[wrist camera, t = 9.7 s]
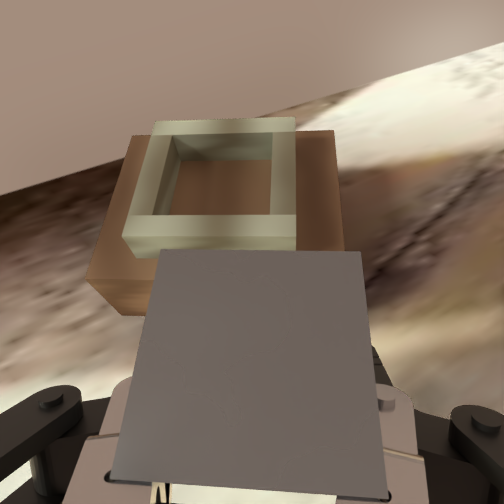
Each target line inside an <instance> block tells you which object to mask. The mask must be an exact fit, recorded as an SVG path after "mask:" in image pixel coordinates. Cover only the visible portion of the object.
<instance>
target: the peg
mask: <svg viewBox="0 0 504 504" xmlns="http://www.w3.org/2000/svg"><path fill="white" fill-rule="evenodd" d="M110 479H117V480H131V481H145V482H159V483H173V484H187V485H200V486H214V487H228V488H242V489H256V490H270V491H284V492H297V493H311V494H325V495H339V496H353V497H367V498H381V499H389V496H388V487H387V479H386V470H385V461H384V452H383V443H382V435H381V426H380V417H379V408H378V399H377V390H376V382H375V373H374V364H373V355H372V346H371V338H370V329H369V320H368V311H367V302H366V294H365V285H364V276H363V267H362V258H361V251H283V250H203V249H161V250H160V254H159V259H158V263H157V268H156V272H155V277H154V281H153V286H152V290H151V295H150V299H149V304H148V308H147V313H146V317H145V322H144V326H143V331H142V335H141V340H140V344H139V349H138V353H137V358H136V362H135V367H134V371H133V376H132V380H131V385H130V389H129V394H128V398H127V403H126V407H125V412H124V416H123V421H122V425H121V430H120V434H119V439H118V443H117V448H116V452H115V457H114V461H113V466H112V470H111V475H110Z"/></svg>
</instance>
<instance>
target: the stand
mask: <svg viewBox="0 0 504 504" xmlns="http://www.w3.org/2000/svg"><path fill="white" fill-rule="evenodd" d="M161 249H203V250H283V251H345V246H344V235H343V224H342V213H341V202H340V191H339V180H338V169H337V158H336V147H335V136H334V130H324V131H295V117H275V118H242V119H210V120H178V121H155V124H154V127H153V131H152V134H151V135H139V136H132V138H131V141H130V144H129V147H128V151H127V154H126V156H125V159H124V162H123V165H122V168H121V171H120V174H119V177H118V180H117V183H116V186H115V189H114V192H113V195H112V198H111V201H110V204H109V207H108V210H107V213H106V216H105V219H104V222H103V225H102V228H101V231H100V234H99V237H98V240H97V243H96V246H95V249H94V252H93V255H92V258H91V261H90V264H89V267H88V270H87V274H86V277H85V280H86V281H87V282H88V283H89V284H90V285H91V286H92V287H94V288H95V289H96V290H97V291H98V292H99V293H100V294H101V295H102V296H103V297H104V298H105V299H106V300H107V301H108V302H109V303H110V304H111V305H112V306H113V307H114V308H115V309H116V310H117V311H118V312H119V313H120V314H121V315H127V316H146V313H147V308H148V304H149V299H150V295H151V290H152V286H153V281H154V277H155V272H156V268H157V263H158V259H159V254H160V250H161Z"/></svg>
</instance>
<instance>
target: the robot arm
mask: <svg viewBox="0 0 504 504" xmlns="http://www.w3.org/2000/svg"><path fill="white" fill-rule="evenodd" d="M371 346H372V345H371ZM372 355H373V364H374V373H375V382H376V390H377V399H378V408H379V417H380V426H381V435H382V443H383V452H384V461H385V470H386V479H387V487H388V496H389V499H381V498H367V497H353V496H339V495H337V498H336V504H504V415H502V414H500V413H498V412H496V411H494V410H491V409H488V408H485V407H481V406H475V405H462V406H458V407H456V408H454V409H453V410H452V412H451V417H450V420H448V419H444V418H440V417H436V416H432V415H429V414H425V413H422V412H420V411H418V410H415V409H414V408H413V402H412V400H411V399H410V398H409V396H408V395H406V394H405V393H404V392H402V391H401V390H399V389H397V388H395V387H393V385H392V383H391V381H390V379H389V377H388V374H387V372H386V370H385V368H384V366H382V362H381V360H380V358H379V356H378V354H377V352H376V350H375V348H374V347H373V346H372ZM131 380H132V377H129V378H127V379H125V380H123V381H121V382H120V383H119V384H118V385H117V386H116V387H115V388H114V390H113V393H112V396H111V397H108V398H102V399H96V400H90V401H83V402H82V397H81V391H80V390H79V389H78V388H77V387H74V386H70V385H60V386H54V387H50V388H46V389H44V390H41V391H39V392H37V393H35V394H33V395H31V396H30V397H28V398H26V399H25V400H23V401H21V402H20V403H18V404H16V405H15V406H13V407H11V408H10V409H8V410H6V411H5V412H3V413H1V414H0V482H1V481H2V480H4V479H5V478H6V477H7V476H9V475H10V474H11V473H13V472H14V471H15V470H17V469H18V468H19V467H21V466H22V465H23V464H25V463H26V462H27V461H28V460H29V461H30V467H31V472H32V477H31V478H30V479H29V480H28V481H26V482H25V483H24V484H23V485H22V486H20V487H19V488H18V489H17V490H15V491H14V492H13V493H12V494H10V495H9V496H8V497H7V498H6V499H4V500H3V501H2V502H1V503H0V504H175V503H171V497H172V483H159V482H145V481H131V480H117V479H110V475H111V470H112V466H113V461H114V457H115V452H116V448H117V443H118V439H119V434H120V430H121V425H122V421H123V416H124V412H125V407H126V403H127V398H128V394H129V389H130V385H131Z"/></svg>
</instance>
